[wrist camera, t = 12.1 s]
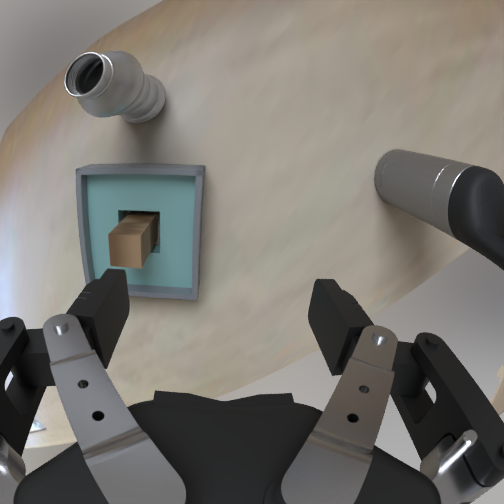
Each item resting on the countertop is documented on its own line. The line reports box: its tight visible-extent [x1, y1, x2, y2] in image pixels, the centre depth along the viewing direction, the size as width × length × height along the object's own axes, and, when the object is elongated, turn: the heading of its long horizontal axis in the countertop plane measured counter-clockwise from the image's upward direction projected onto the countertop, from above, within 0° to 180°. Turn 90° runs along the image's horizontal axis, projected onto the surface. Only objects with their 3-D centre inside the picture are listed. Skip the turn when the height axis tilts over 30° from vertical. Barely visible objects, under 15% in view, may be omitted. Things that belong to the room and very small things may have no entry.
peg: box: [108, 211, 158, 269], centre depth 36 cm, size 4×4×10 cm
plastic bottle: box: [64, 51, 165, 123], centre depth 24 cm, size 6×7×20 cm
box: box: [76, 164, 205, 300], centre depth 38 cm, size 17×18×5 cm
